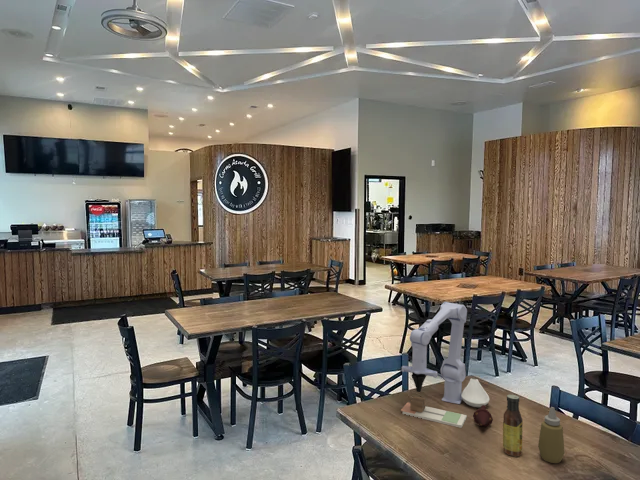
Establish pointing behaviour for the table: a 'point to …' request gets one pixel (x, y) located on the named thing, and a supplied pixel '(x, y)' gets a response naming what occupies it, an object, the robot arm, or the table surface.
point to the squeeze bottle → (551, 438)
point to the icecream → (482, 417)
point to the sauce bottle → (512, 427)
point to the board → (437, 415)
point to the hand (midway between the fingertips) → (418, 391)
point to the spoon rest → (475, 394)
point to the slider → (417, 404)
